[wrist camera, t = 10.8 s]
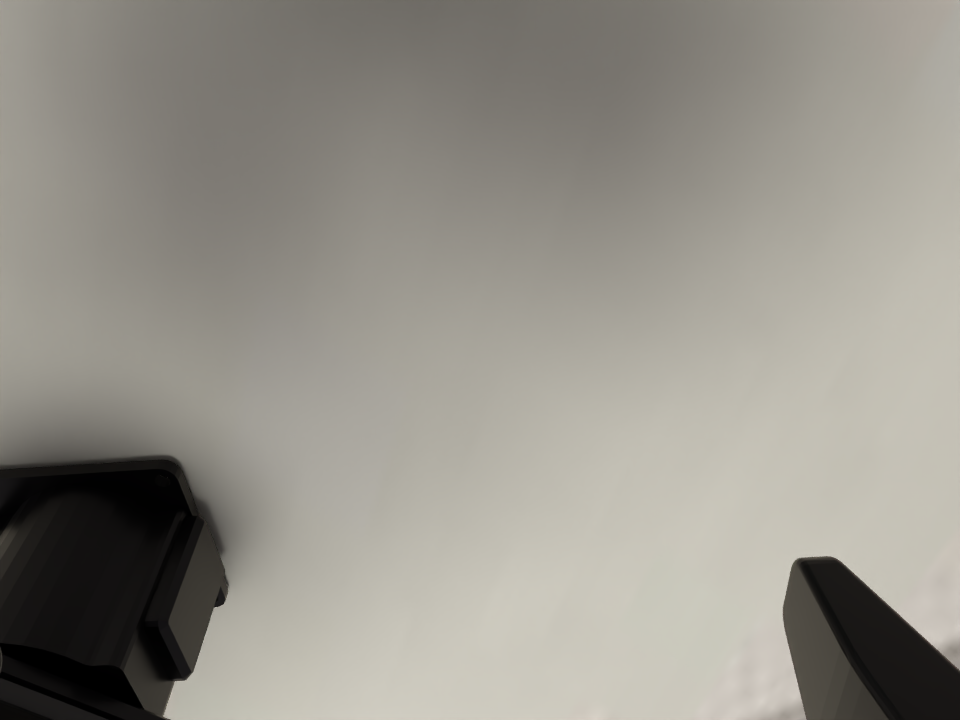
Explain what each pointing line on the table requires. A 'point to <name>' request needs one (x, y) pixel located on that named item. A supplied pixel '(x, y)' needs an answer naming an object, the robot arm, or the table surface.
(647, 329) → the table surface
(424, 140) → the table surface
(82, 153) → the table surface
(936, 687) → the robot arm
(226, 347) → the table surface
